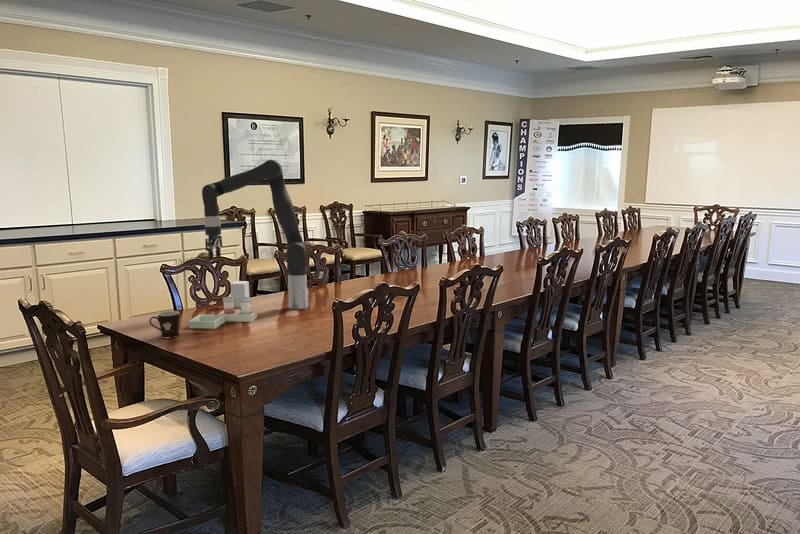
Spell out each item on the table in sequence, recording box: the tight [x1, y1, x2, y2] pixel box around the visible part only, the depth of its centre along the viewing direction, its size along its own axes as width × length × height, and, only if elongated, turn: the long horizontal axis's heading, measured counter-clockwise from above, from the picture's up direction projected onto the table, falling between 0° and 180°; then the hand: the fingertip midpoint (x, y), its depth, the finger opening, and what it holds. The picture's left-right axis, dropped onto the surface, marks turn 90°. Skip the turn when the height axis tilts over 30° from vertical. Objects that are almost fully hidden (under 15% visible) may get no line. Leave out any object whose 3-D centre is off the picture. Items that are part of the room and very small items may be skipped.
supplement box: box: [230, 280, 250, 309], centre depth 316 cm, size 7×7×13 cm
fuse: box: [240, 296, 252, 315], centre depth 286 cm, size 5×5×10 cm
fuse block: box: [216, 310, 258, 323], centre depth 287 cm, size 16×8×4 cm, turn 84°
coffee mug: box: [148, 310, 180, 337], centre depth 262 cm, size 12×9×10 cm
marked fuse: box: [222, 296, 235, 314], centre depth 287 cm, size 5×5×10 cm
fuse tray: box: [187, 314, 226, 332], centre depth 277 cm, size 12×12×4 cm
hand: (214, 257), depth 306 cm, fingers open, 8 cm apart
